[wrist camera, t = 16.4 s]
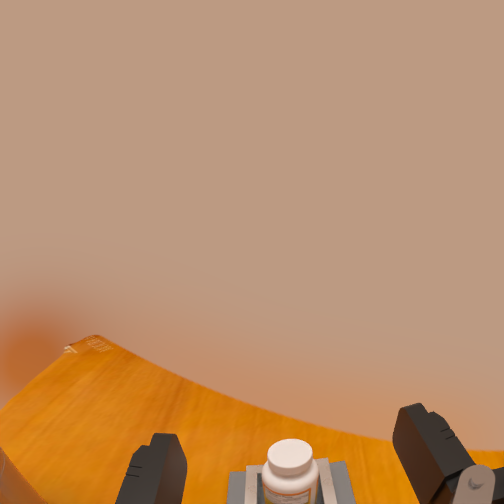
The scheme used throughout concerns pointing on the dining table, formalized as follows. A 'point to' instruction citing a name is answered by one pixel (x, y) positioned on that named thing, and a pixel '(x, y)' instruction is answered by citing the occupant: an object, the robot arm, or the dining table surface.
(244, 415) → the dining table surface
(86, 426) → the dining table surface
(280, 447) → the supplement bottle
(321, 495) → the socket board
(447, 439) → the robot arm
